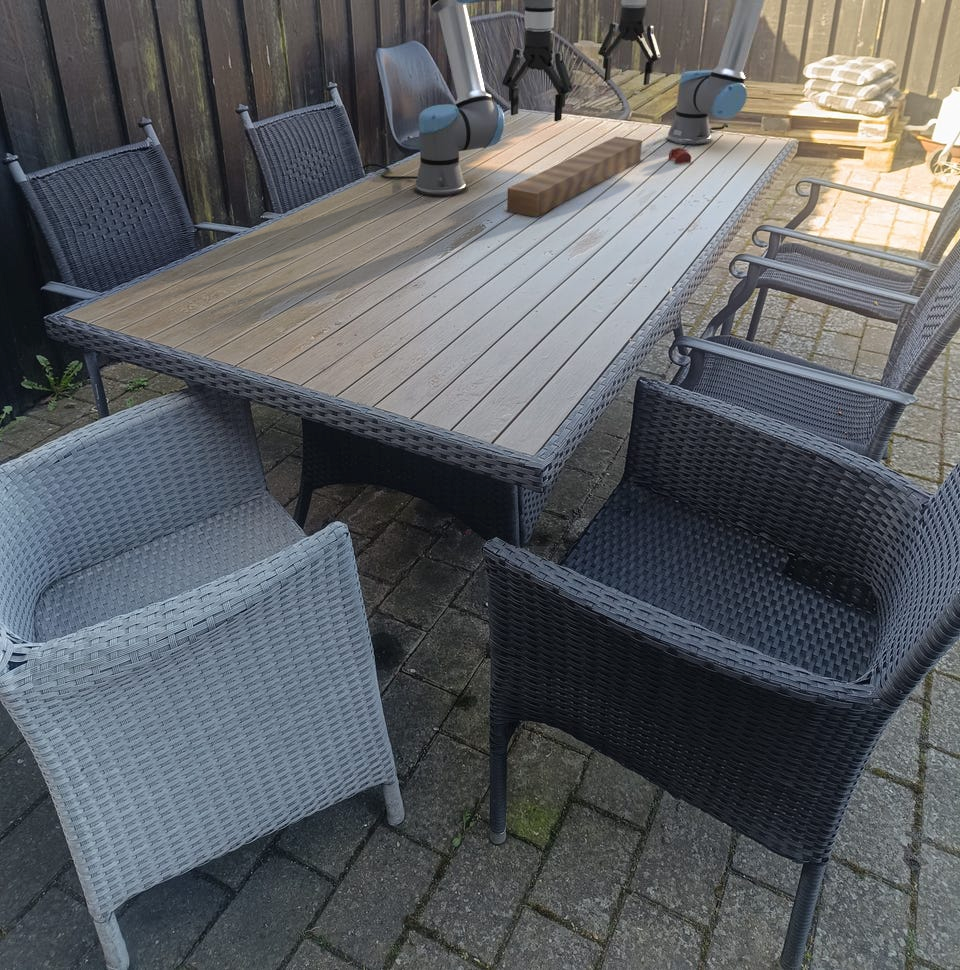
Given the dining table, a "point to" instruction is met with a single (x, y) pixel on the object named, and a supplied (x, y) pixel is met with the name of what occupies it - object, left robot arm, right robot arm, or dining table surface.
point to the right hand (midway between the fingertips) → (626, 82)
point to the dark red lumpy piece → (680, 155)
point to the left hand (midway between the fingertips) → (535, 117)
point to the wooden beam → (572, 176)
